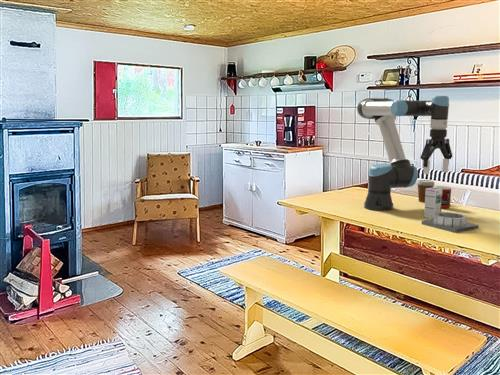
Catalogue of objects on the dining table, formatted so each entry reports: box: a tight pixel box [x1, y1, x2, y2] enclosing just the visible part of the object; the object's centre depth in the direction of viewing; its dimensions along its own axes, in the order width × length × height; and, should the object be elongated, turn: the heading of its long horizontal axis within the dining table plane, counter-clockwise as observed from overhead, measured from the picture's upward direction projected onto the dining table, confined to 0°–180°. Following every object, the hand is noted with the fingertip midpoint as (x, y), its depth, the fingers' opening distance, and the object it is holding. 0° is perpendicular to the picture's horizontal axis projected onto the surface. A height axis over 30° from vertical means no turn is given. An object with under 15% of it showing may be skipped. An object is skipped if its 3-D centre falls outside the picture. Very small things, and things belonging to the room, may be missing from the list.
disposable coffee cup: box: [416, 179, 435, 204], centre depth 272 cm, size 10×10×12 cm
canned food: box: [435, 186, 452, 210], centre depth 256 cm, size 8×8×11 cm
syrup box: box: [423, 186, 442, 219], centre depth 233 cm, size 6×6×14 cm
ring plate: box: [421, 211, 480, 233], centre depth 216 cm, size 18×16×5 cm
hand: (435, 173), depth 230 cm, fingers open, 13 cm apart
